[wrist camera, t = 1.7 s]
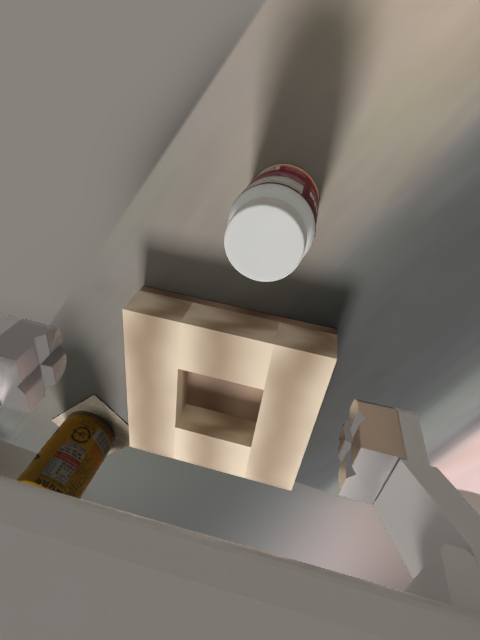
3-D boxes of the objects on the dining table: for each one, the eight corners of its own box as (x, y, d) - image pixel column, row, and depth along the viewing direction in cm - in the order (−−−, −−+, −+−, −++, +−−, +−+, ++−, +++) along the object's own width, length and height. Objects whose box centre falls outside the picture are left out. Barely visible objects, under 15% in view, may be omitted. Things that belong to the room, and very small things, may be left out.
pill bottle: (311, 240, 27) (301, 298, 20) (244, 227, 27) (212, 279, 20) (328, 168, 24) (323, 206, 17) (253, 156, 25) (220, 187, 18)
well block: (337, 329, 30) (337, 359, 27) (295, 457, 39) (291, 490, 36) (143, 285, 32) (122, 308, 29) (145, 417, 41) (129, 446, 37)
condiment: (52, 419, 44) (-30, 517, 35) (94, 393, 40) (15, 496, 30) (98, 458, 47) (33, 561, 37) (142, 437, 43) (83, 546, 33)
